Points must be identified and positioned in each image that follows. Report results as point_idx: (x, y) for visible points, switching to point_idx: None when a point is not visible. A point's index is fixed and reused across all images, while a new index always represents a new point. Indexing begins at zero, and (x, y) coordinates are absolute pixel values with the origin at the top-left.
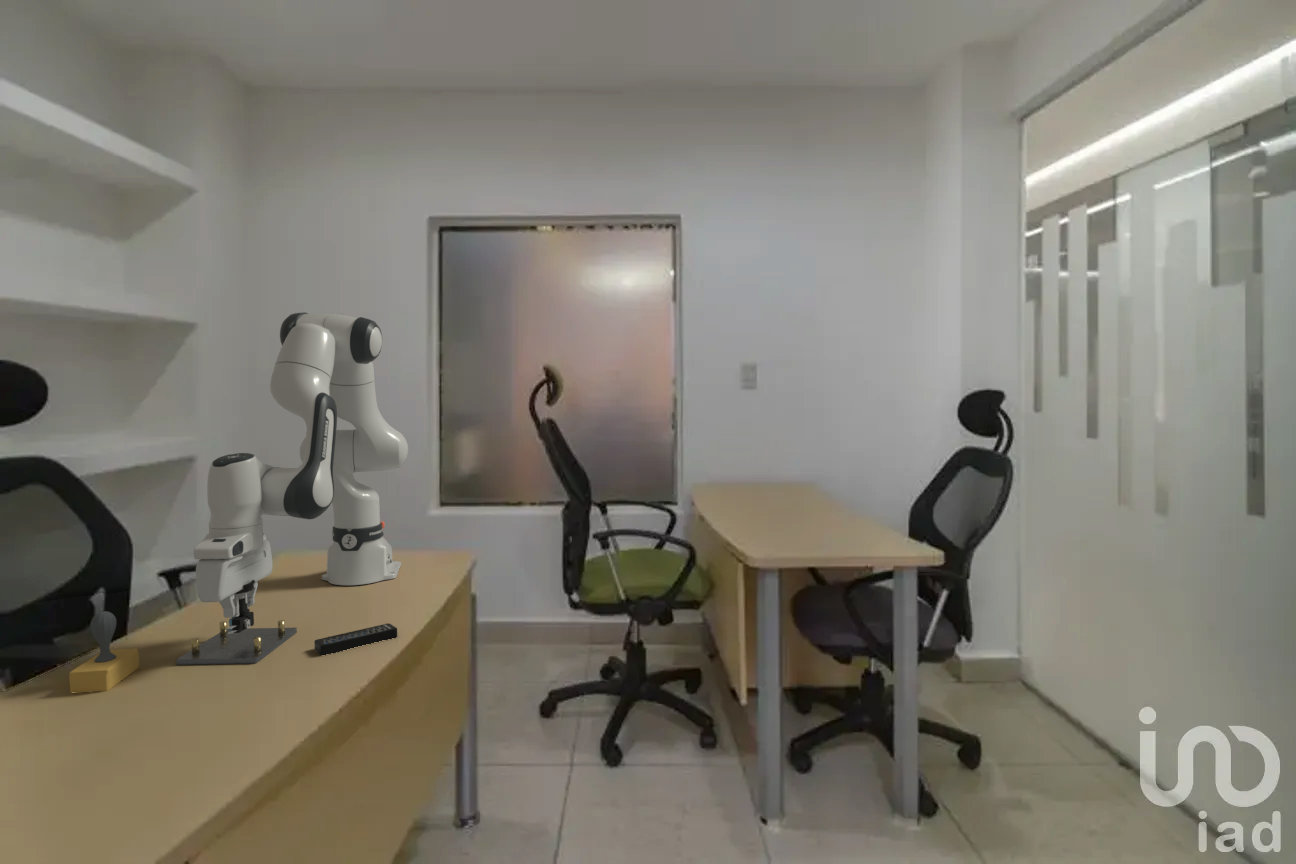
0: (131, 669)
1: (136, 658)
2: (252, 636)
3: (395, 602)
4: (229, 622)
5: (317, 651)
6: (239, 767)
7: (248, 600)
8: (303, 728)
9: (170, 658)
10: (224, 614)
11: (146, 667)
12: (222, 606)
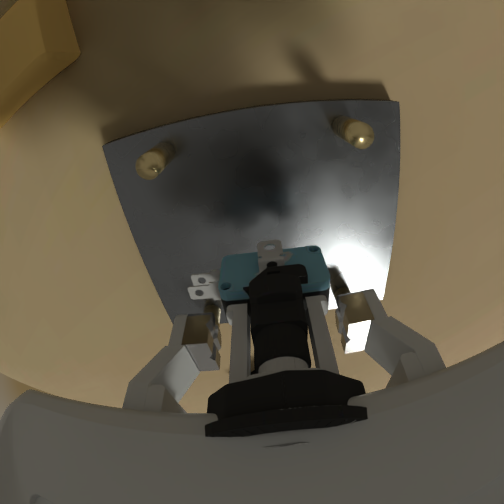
0: (40, 85)
1: (47, 68)
2: (324, 235)
3: (478, 338)
4: (219, 284)
5: (252, 373)
6: (33, 380)
7: (342, 339)
8: (82, 400)
9: (149, 74)
10: (175, 324)
11: (82, 74)
12: (157, 357)
